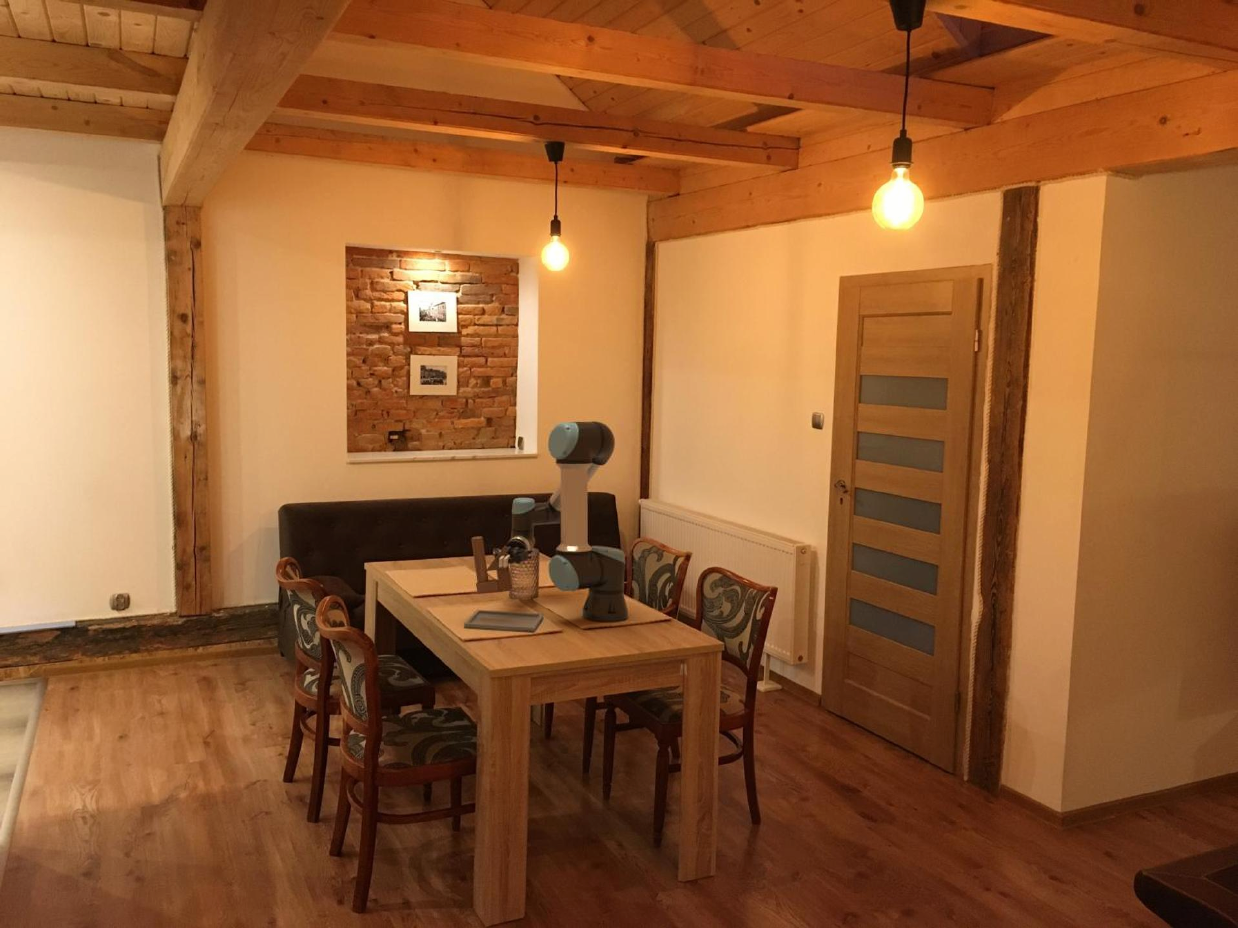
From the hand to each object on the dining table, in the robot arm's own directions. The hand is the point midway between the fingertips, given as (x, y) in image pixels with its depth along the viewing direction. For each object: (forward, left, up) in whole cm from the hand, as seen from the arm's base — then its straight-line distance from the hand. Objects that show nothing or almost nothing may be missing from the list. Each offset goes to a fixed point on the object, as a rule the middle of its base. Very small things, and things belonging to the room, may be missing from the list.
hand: (502, 562), depth 330 cm
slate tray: (+2, -5, -20) cm, 21 cm away
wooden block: (+6, -5, -11) cm, 13 cm away
